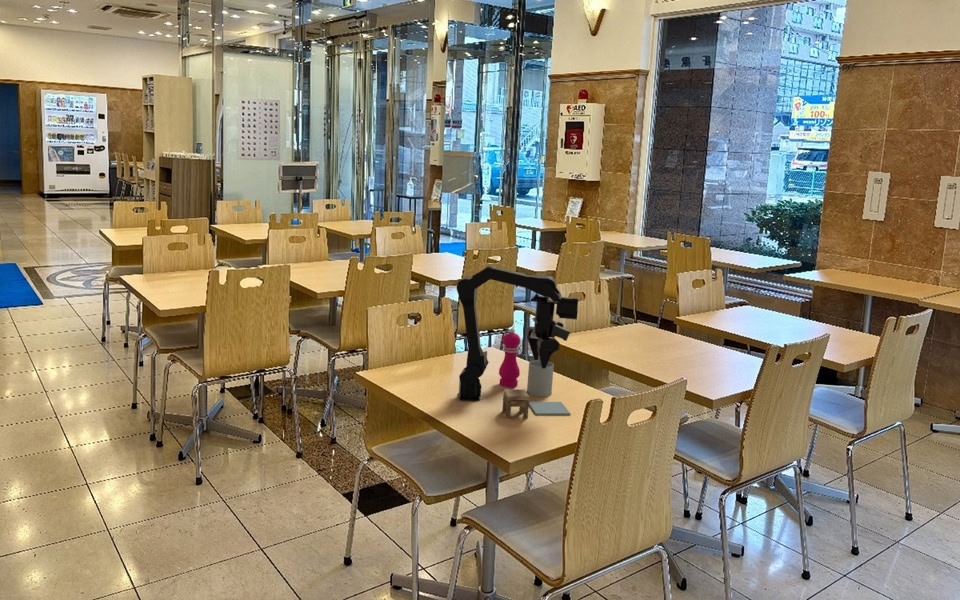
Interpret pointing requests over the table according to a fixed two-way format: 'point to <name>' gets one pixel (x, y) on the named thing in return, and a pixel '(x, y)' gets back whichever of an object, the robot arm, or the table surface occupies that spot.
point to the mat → (549, 408)
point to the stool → (515, 401)
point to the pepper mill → (510, 360)
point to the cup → (540, 379)
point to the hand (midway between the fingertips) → (539, 364)
